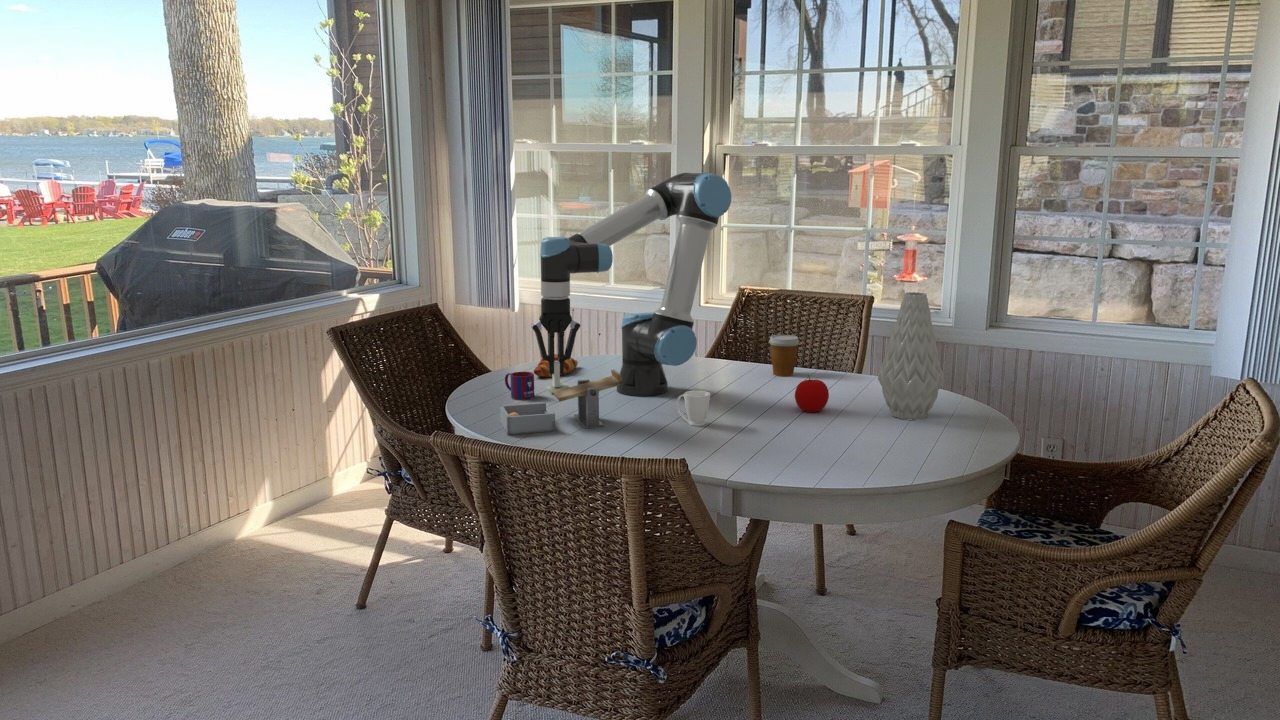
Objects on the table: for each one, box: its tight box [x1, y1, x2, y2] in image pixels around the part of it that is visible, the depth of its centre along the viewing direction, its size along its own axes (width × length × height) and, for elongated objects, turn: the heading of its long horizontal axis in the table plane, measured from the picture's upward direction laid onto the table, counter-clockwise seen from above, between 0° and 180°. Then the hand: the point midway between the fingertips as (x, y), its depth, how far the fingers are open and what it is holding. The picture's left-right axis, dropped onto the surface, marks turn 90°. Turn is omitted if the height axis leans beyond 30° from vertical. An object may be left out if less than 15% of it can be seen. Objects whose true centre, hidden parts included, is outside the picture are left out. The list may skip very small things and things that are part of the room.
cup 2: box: [675, 390, 712, 427], centre depth 247 cm, size 7×10×8 cm
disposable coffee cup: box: [768, 334, 800, 377], centre depth 302 cm, size 10×10×12 cm
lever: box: [545, 368, 623, 402], centre depth 250 cm, size 18×14×3 cm
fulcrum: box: [573, 379, 605, 429], centre depth 248 cm, size 5×12×10 cm, turn 17°
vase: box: [877, 291, 945, 420], centre depth 250 cm, size 17×17×33 cm
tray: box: [499, 401, 556, 436], centre depth 244 cm, size 12×12×4 cm
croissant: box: [533, 353, 579, 378], centre depth 305 cm, size 21×10×8 cm, turn 148°
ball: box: [509, 412, 520, 416], centre depth 243 cm, size 4×4×4 cm
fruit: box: [794, 374, 830, 413], centre depth 258 cm, size 9×9×10 cm
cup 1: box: [504, 371, 535, 401], centre depth 275 cm, size 7×10×7 cm
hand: (556, 385), depth 252 cm, fingers closed
